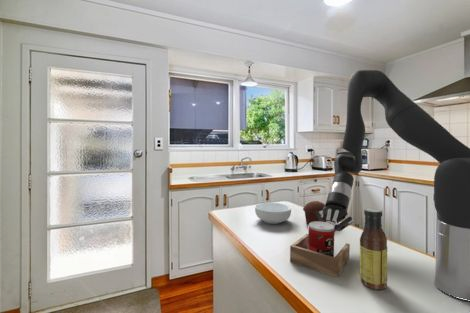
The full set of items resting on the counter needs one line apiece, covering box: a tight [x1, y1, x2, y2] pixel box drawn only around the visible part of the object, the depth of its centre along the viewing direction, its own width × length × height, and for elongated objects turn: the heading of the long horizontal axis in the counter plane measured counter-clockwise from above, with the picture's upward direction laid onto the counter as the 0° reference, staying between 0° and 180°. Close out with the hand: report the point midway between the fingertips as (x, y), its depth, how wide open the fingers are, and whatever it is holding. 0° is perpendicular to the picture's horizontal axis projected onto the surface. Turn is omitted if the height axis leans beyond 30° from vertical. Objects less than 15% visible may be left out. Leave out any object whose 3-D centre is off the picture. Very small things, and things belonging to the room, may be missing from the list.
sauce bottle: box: [359, 207, 388, 291], centre depth 62 cm, size 6×6×20 cm
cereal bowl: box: [254, 202, 292, 225], centre depth 113 cm, size 17×17×7 cm
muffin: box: [302, 201, 326, 226], centre depth 109 cm, size 12×11×10 cm
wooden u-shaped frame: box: [289, 233, 351, 278], centre depth 75 cm, size 13×14×5 cm
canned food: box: [307, 221, 335, 257], centre depth 76 cm, size 8×8×11 cm
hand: (327, 239), depth 81 cm, fingers closed
